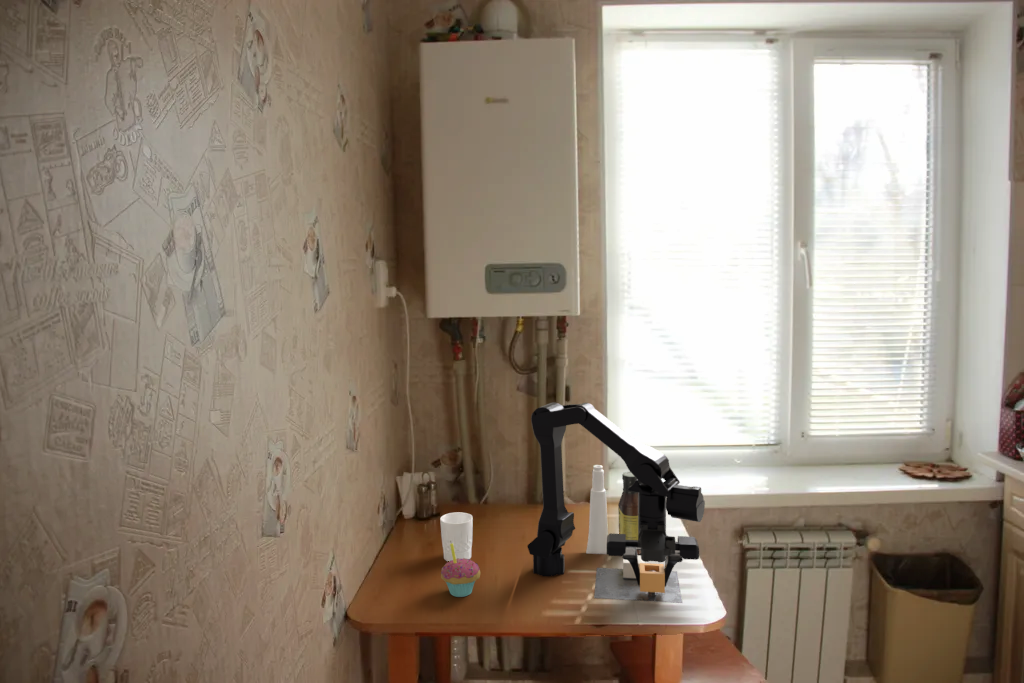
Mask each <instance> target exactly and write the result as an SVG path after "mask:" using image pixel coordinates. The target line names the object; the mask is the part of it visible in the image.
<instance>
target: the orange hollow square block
mask: <svg viewBox="0 0 1024 683" xmlns="http://www.w3.org/2000/svg"><path fill="white" fill-rule="evenodd" d="M664 567H665V563H650V562H646V563H640V591H641V592H660V593H665V572H664ZM649 570H654V571H656V572H652V571H649Z"/></svg>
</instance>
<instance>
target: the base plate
mask: <svg viewBox="0 0 1024 683" xmlns="http://www.w3.org/2000/svg"><path fill="white" fill-rule="evenodd" d="M649 571H652V572H656V571H654V570H649ZM595 575H596V576H595V584H594V586H595V587H594V596H593V598H594V599H605V600H622V601H624V600H625V601H639V602H640V601H641V602H642V601H644V602H663V603H678V604H679V603H680V604H683V598H682V593H681V587H680V586H681V585H680V580H679V575H678V571H676V570H672V571H671V574H670V576H669V579H668V582H667V584H666V587H665V593H660V592H641V591H640V585H638V582H637V579H636V578H623V568H612V567H611V568H608V567H596V574H595Z"/></svg>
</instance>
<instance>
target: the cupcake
mask: <svg viewBox="0 0 1024 683" xmlns="http://www.w3.org/2000/svg"><path fill="white" fill-rule="evenodd" d="M450 542H451V540H450ZM450 546H451V551H452V557H453V560H452V561H449V562H448V561H447V562H446V563H444V565H443V566H442V567H441V568H440V569H441V571H440V578H441V580H443V581H444V583H446V586H447V588H448V590H449V594H450V595H451V596H453V597H457V598H463V597H464V598H465V597H467V596H469V595H471V594H472V593H473V588H474V585H475V582H476V581H478V580H479V579H480V576H481V570H480V566H479V565H478V563H476V562H475V561H474V560H472V559H471V558H470V559H465V558H463V559H459V558H457V559H456V556H455V551H454V546H453V543H451V544H450Z"/></svg>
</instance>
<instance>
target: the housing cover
mask: <svg viewBox="0 0 1024 683" xmlns="http://www.w3.org/2000/svg"><path fill="white" fill-rule="evenodd" d="M622 559H623V558H622ZM638 563H639V570H640V563H647V562H645V561H643V560H642V559H641V554H638ZM622 566H623V567H622V569H623V578H636V576H635V573H634V570H633V568H632V566H631V564H630V562H629V561H628V560H625V559H623V560H622Z"/></svg>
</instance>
